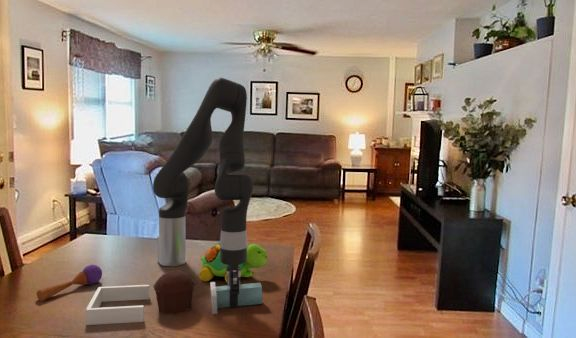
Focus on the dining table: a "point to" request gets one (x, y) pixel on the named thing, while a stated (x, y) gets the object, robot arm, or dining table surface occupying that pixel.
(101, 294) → the bay
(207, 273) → the turtle toy
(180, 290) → the muffin
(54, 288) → the purple ball-ended brown rod
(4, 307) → the dining table surface
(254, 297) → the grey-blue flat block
